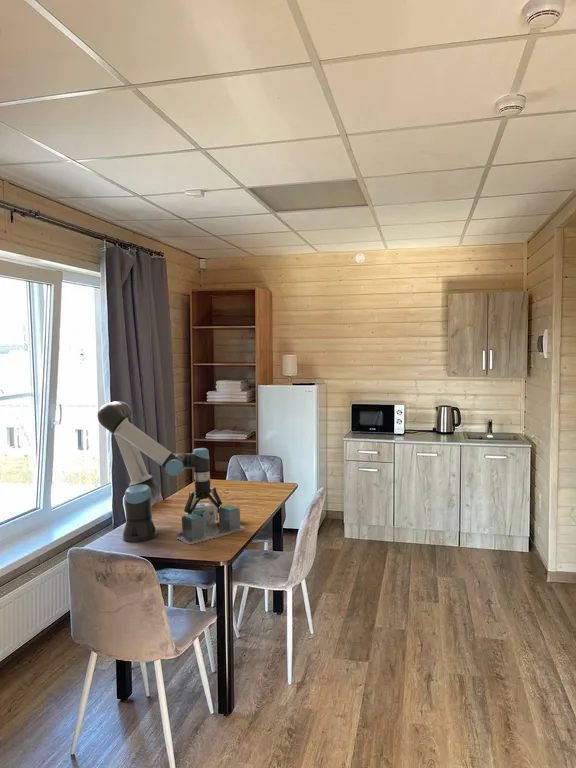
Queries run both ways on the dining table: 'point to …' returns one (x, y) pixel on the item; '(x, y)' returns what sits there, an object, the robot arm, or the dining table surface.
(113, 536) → the dining table surface
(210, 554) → the dining table surface
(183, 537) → the grey u-shaped stand
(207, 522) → the light bulb box
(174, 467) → the robot arm
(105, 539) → the dining table surface
